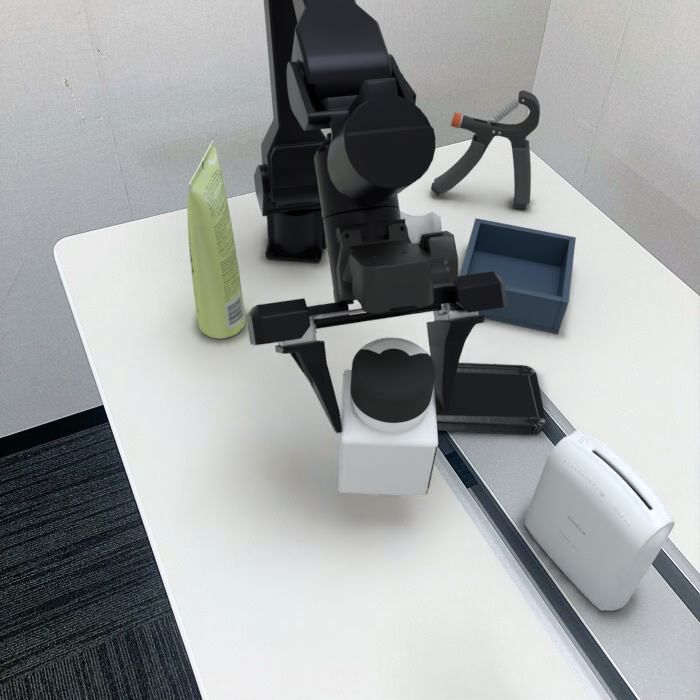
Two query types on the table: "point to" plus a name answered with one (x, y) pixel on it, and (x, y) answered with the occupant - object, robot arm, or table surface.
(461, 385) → the phone
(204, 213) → the tube
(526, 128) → the hand grip strengthener
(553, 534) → the photo printer
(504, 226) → the bin
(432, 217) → the pale two-lobed sculpture
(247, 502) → the table surface
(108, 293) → the table surface
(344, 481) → the medicine bottle
